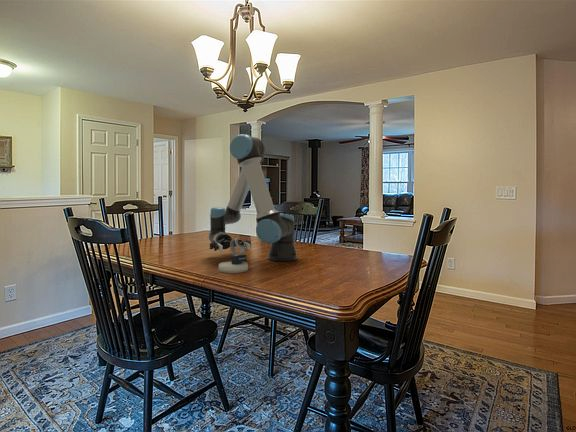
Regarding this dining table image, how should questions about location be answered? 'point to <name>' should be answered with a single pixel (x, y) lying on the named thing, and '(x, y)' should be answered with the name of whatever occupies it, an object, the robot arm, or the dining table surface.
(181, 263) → the dining table surface
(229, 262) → the display plinth
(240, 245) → the watch
